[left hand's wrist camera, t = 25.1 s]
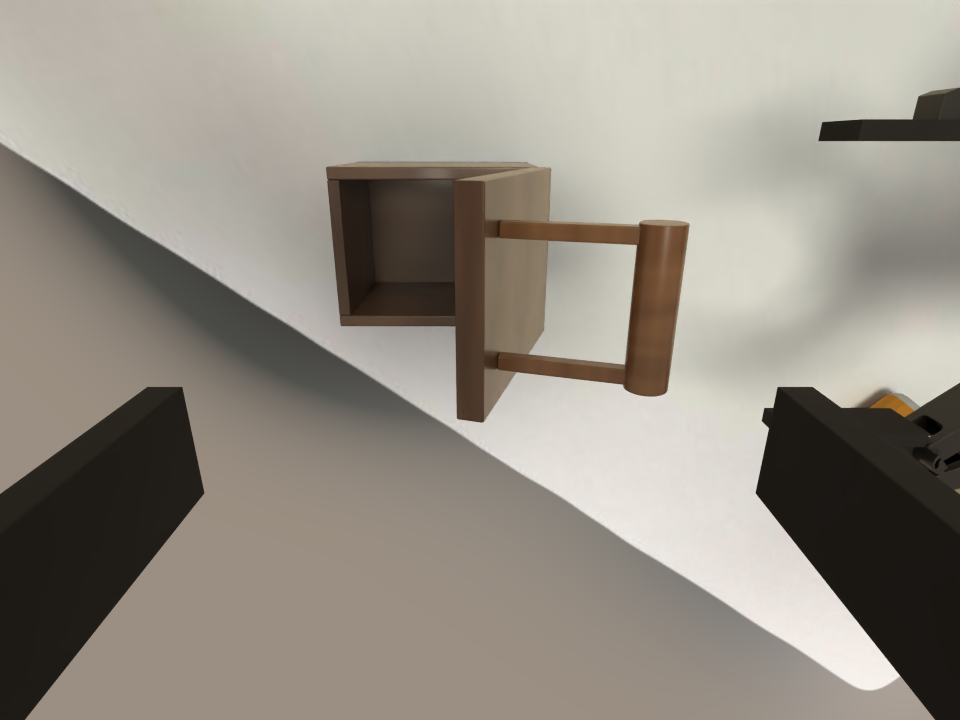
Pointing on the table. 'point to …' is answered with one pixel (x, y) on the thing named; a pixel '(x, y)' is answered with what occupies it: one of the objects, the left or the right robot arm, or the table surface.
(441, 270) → the chest
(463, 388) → the lid
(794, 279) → the table surface
